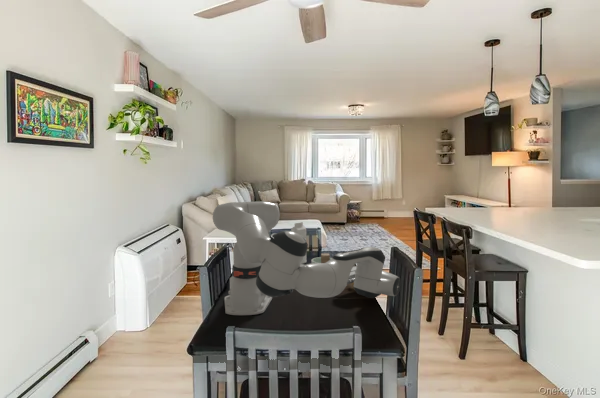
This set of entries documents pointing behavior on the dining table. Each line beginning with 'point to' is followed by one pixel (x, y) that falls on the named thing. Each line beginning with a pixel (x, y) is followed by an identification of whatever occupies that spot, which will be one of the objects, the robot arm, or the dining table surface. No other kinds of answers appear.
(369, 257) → the robot arm
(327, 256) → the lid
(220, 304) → the dining table surface
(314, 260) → the bowl
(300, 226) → the milk
